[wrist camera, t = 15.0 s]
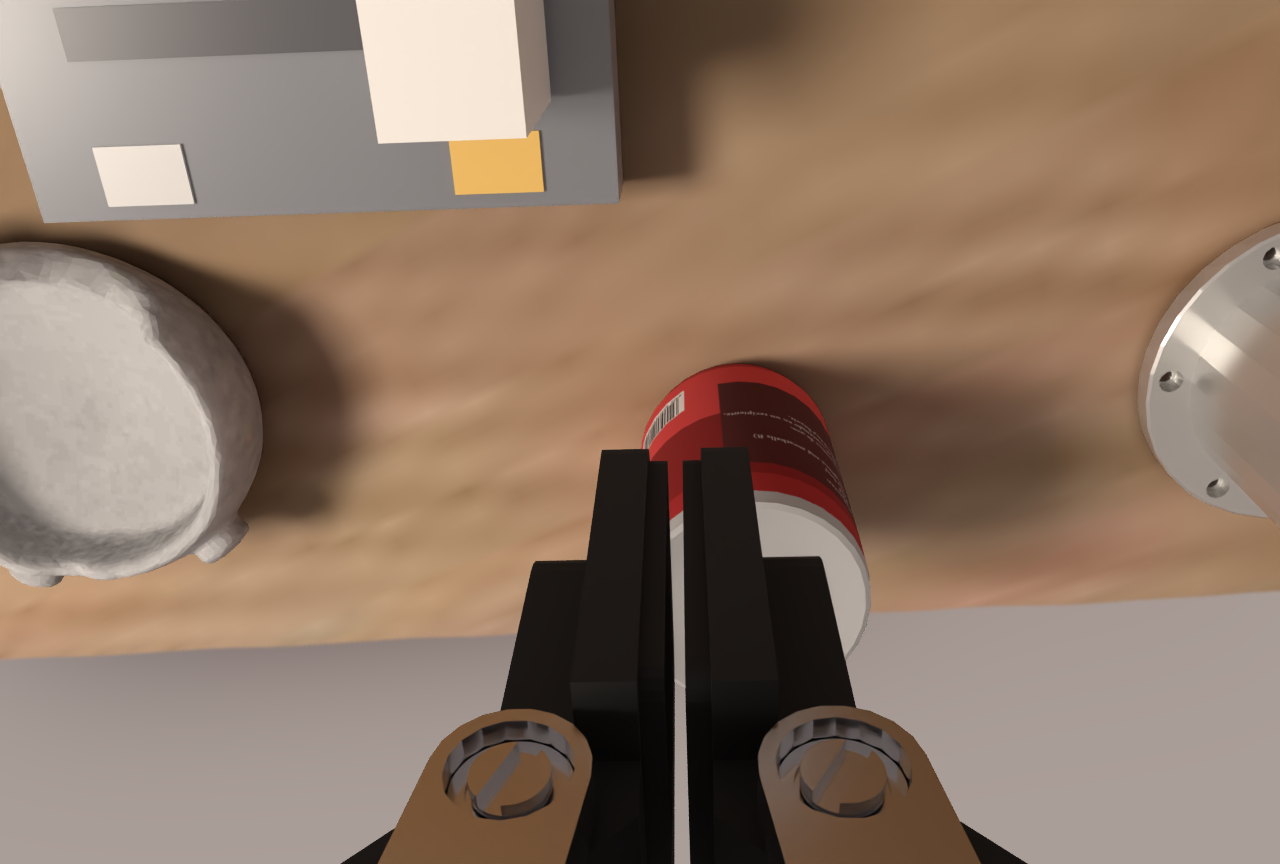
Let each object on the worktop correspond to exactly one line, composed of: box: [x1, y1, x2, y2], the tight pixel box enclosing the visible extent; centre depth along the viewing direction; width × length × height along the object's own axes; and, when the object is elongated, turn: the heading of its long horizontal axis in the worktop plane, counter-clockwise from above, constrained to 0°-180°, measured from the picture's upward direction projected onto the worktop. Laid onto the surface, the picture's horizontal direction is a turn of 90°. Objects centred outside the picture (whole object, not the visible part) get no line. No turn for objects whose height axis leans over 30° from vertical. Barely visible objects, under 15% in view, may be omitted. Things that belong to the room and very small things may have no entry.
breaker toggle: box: [356, 0, 551, 144], centre depth 29 cm, size 4×5×6 cm
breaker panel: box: [0, 0, 623, 223], centre depth 33 cm, size 20×12×3 cm, turn 92°
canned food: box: [641, 364, 871, 688], centre depth 37 cm, size 8×8×11 cm
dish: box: [0, 242, 263, 587], centre depth 40 cm, size 14×14×5 cm
